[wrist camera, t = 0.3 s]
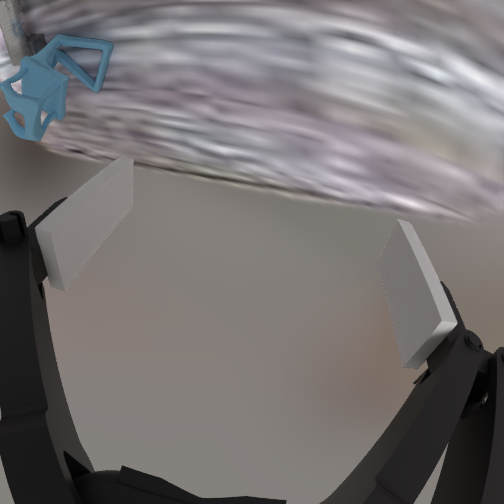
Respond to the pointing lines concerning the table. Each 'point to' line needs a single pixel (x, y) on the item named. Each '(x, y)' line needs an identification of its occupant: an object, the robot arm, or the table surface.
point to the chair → (49, 84)
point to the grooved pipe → (18, 32)
